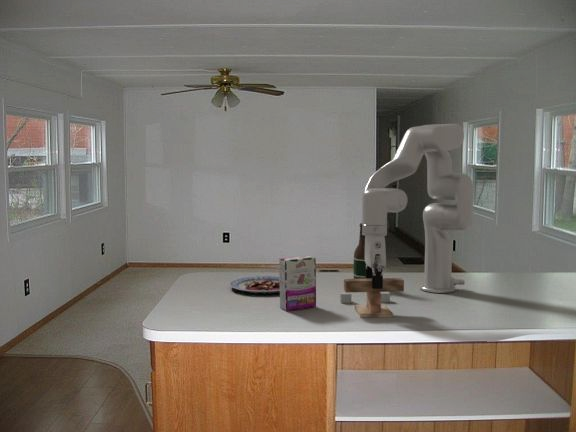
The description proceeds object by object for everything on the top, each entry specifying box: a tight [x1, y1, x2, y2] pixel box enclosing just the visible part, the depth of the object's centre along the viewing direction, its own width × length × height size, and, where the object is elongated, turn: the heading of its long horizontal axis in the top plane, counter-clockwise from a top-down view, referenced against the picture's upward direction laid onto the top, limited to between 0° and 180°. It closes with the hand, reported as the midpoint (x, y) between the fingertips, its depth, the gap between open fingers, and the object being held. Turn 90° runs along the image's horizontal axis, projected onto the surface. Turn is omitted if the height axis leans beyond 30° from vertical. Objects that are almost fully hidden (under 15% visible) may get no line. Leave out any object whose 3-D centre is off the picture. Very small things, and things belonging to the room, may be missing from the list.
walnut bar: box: [343, 277, 405, 293], centre depth 179 cm, size 18×4×4 cm, turn 94°
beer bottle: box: [353, 222, 366, 279], centre depth 215 cm, size 8×8×24 cm
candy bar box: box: [278, 255, 317, 312], centre depth 186 cm, size 11×5×16 cm, turn 117°
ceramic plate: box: [229, 275, 280, 295], centre depth 215 cm, size 26×26×3 cm
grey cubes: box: [339, 291, 391, 304], centre depth 194 cm, size 16×2×3 cm, turn 94°
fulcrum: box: [354, 292, 394, 318], centre depth 180 cm, size 10×10×7 cm
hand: (373, 285), depth 179 cm, fingers open, 9 cm apart
